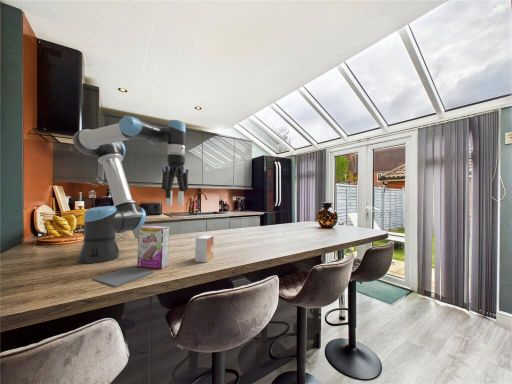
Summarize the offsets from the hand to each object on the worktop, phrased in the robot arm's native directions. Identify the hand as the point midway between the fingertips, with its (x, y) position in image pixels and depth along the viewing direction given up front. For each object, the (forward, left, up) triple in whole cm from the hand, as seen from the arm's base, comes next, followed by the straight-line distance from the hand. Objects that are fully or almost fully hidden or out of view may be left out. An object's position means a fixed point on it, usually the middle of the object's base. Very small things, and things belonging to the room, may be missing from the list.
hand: (175, 205), depth 99 cm
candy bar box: (0, -11, -25) cm, 27 cm away
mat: (0, -23, -25) cm, 34 cm away
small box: (+12, +7, -25) cm, 29 cm away
